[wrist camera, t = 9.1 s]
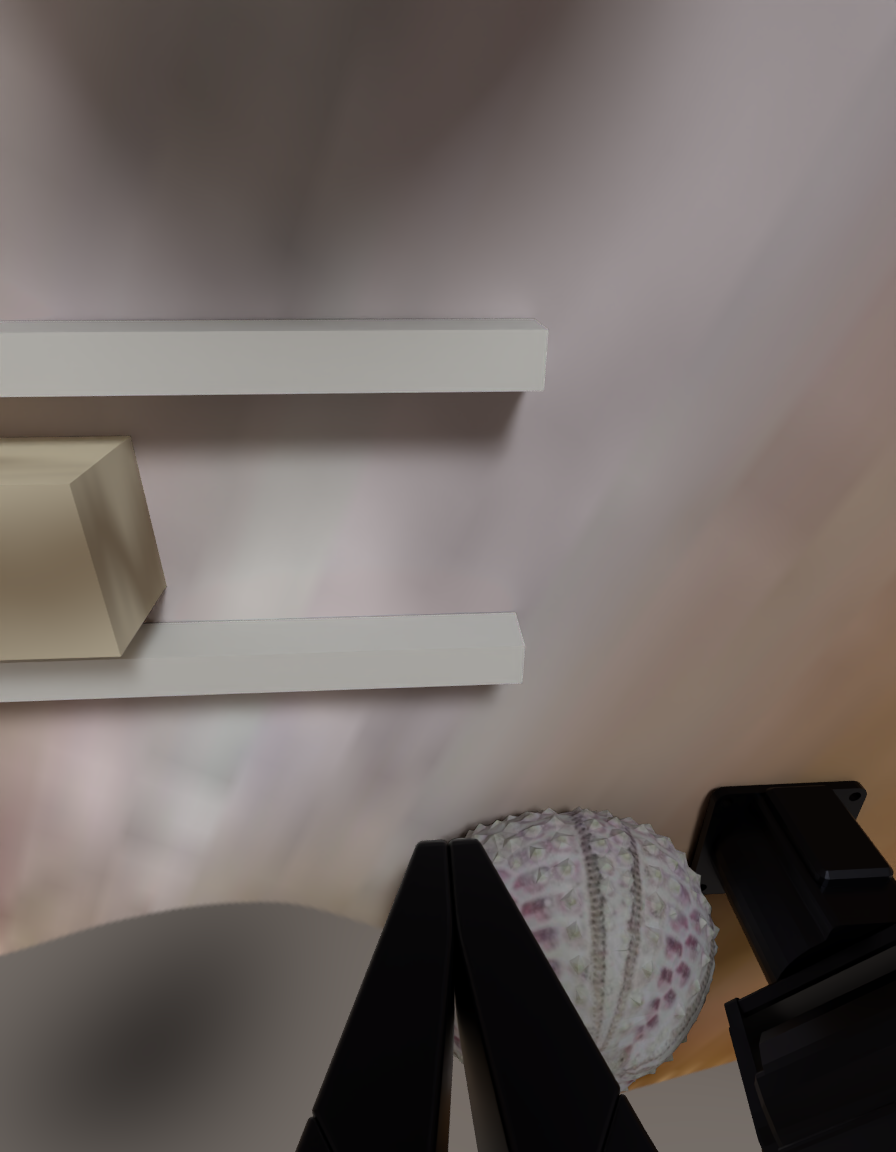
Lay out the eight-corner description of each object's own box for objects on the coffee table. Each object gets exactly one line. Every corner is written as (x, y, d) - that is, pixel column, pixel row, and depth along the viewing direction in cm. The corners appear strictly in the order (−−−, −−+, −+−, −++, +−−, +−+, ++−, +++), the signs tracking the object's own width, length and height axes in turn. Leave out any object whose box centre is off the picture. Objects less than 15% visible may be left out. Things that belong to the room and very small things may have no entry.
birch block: (167, 583, 21) (120, 656, 18) (10, 588, 21) (-70, 662, 17) (131, 434, 19) (69, 484, 15) (-47, 436, 18) (-153, 487, 15)
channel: (513, 648, 23) (522, 683, 21) (-72, 667, 22) (-113, 706, 20) (534, 318, 18) (548, 329, 16) (-237, 322, 17) (-313, 334, 15)
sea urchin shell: (733, 886, 31) (831, 1083, 24) (502, 996, 34) (527, 1197, 27) (590, 723, 25) (663, 917, 18) (331, 874, 29) (307, 1088, 22)
